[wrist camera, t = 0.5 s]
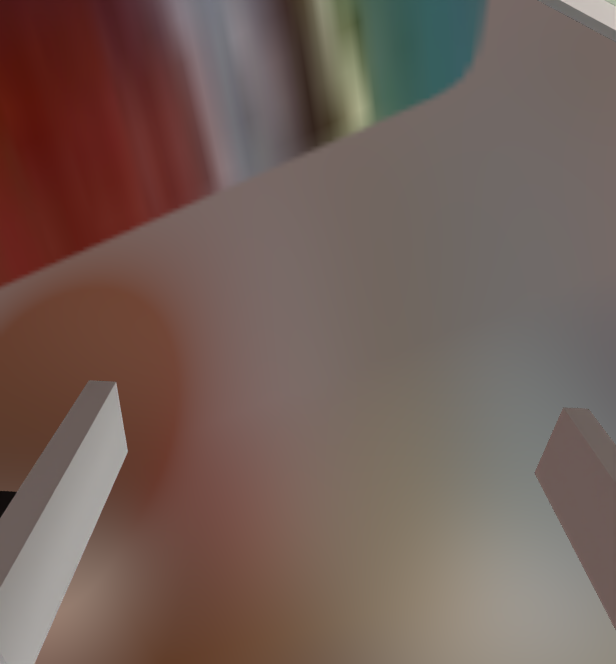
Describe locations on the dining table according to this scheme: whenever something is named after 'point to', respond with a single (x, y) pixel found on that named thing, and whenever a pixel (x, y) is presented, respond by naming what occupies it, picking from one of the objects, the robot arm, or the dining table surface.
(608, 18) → the base plate with post
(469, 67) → the dining table surface
